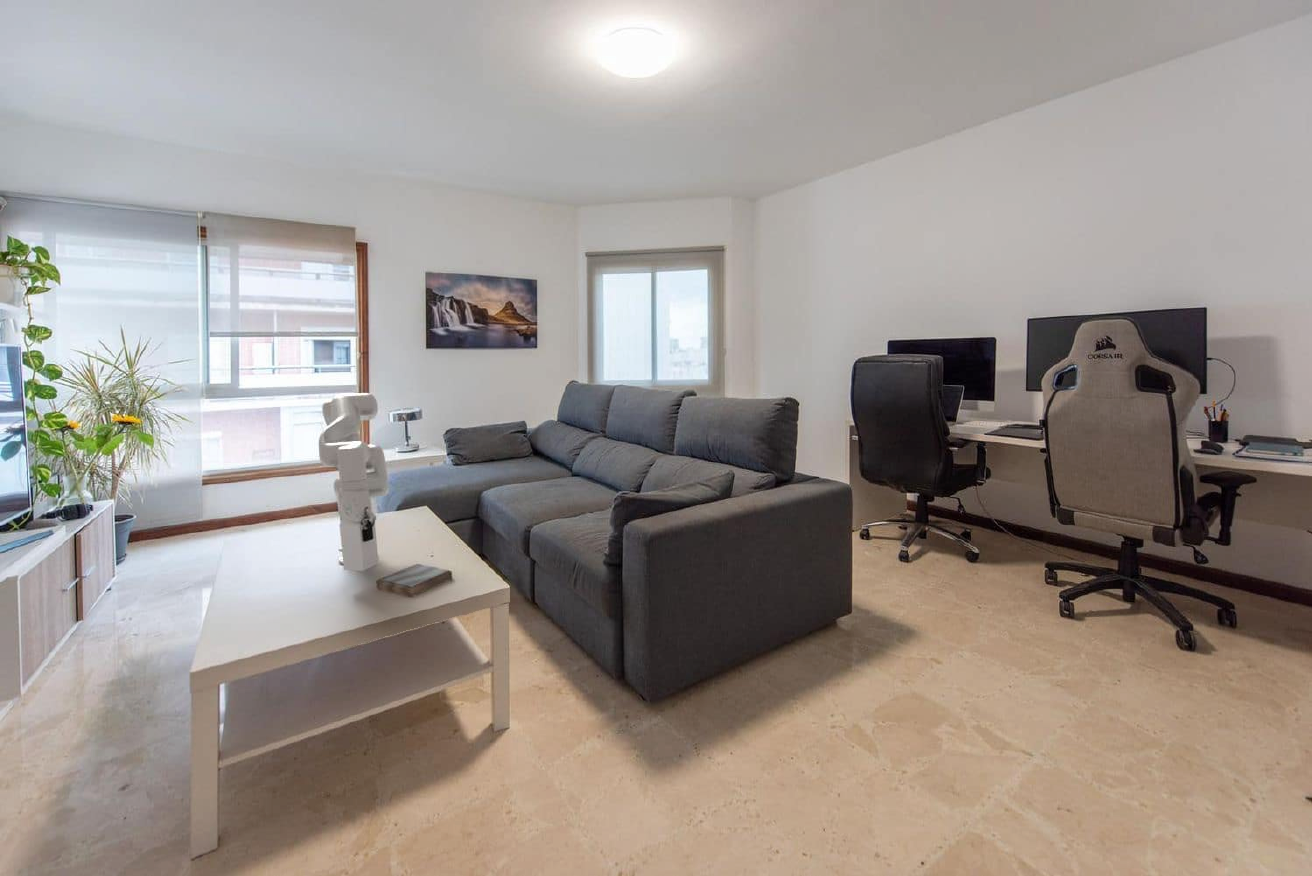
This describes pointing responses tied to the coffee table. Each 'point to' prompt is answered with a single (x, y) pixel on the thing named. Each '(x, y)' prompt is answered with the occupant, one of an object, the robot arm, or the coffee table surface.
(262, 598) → the coffee table surface
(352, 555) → the milk carton
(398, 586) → the framed mirror
